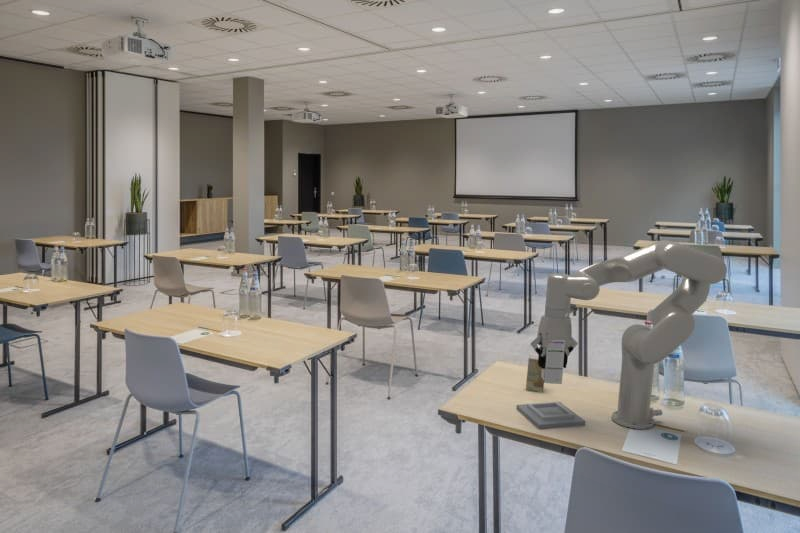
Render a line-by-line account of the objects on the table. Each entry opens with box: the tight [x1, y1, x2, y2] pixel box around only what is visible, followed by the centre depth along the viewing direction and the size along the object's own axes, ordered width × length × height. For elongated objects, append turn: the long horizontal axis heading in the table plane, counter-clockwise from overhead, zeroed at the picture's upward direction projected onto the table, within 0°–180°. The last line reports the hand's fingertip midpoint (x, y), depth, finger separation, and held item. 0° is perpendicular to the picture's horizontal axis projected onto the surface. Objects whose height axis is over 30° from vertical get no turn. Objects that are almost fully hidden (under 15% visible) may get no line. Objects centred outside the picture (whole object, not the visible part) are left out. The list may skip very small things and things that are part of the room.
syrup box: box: [541, 339, 565, 385], centre depth 187 cm, size 6×6×14 cm
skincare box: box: [525, 354, 545, 393], centre depth 213 cm, size 6×4×12 cm
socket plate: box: [515, 401, 587, 430], centre depth 189 cm, size 16×16×3 cm
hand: (552, 366), depth 187 cm, fingers closed on syrup box, 6 cm apart
